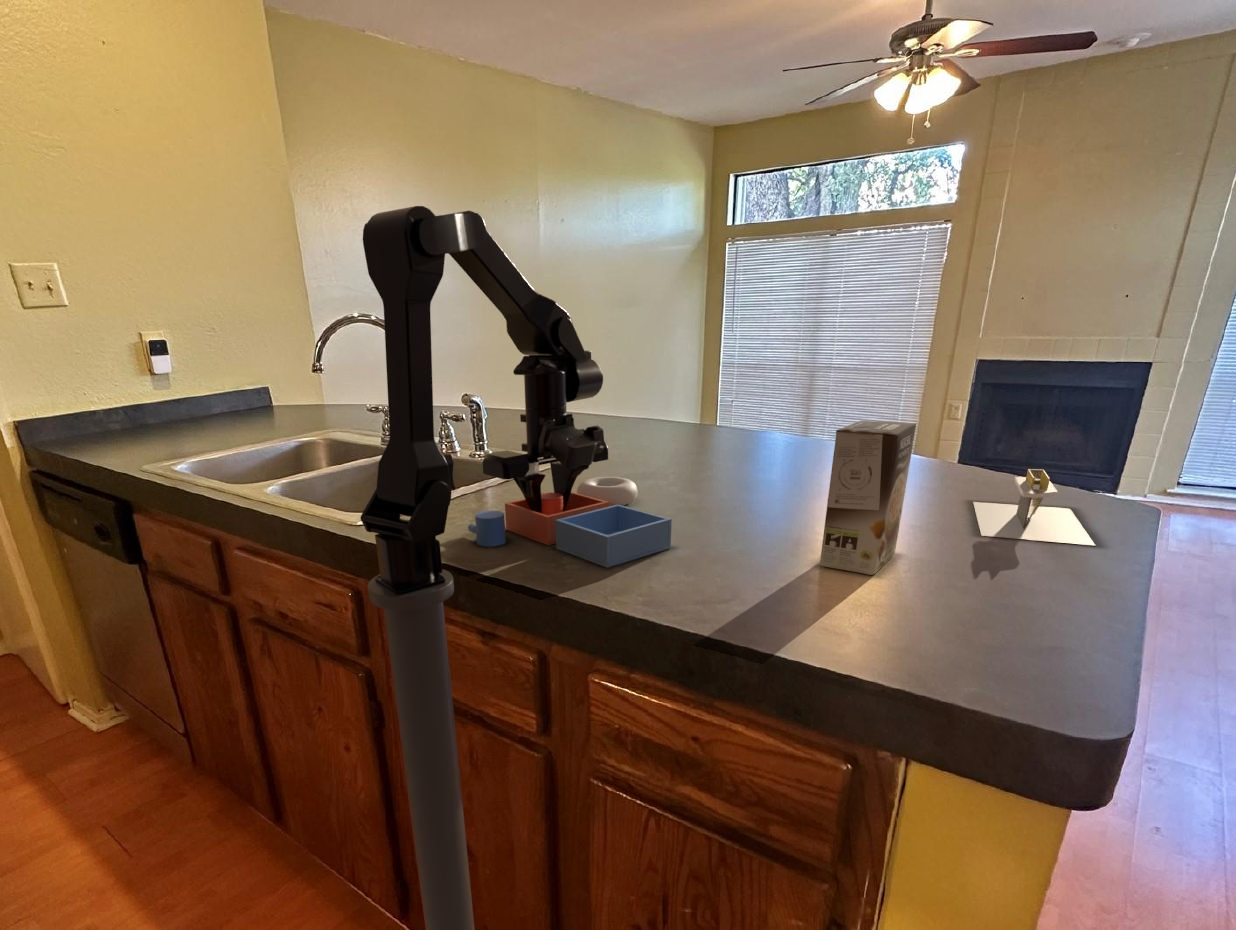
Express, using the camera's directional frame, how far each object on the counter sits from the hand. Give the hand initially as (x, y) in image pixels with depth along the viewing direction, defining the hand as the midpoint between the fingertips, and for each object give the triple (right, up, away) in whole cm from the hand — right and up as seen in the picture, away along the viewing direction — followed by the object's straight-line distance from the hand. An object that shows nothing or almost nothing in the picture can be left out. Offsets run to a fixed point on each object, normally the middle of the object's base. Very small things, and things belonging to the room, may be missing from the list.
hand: (549, 515), depth 101 cm
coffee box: (+37, -8, -18) cm, 42 cm away
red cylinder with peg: (+1, -1, -1) cm, 2 cm away
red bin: (+1, -2, -1) cm, 2 cm away
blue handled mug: (-9, -4, -4) cm, 11 cm away
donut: (+10, +3, +13) cm, 16 cm away
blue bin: (+8, -5, -10) cm, 14 cm away
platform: (+66, -2, -6) cm, 66 cm away
